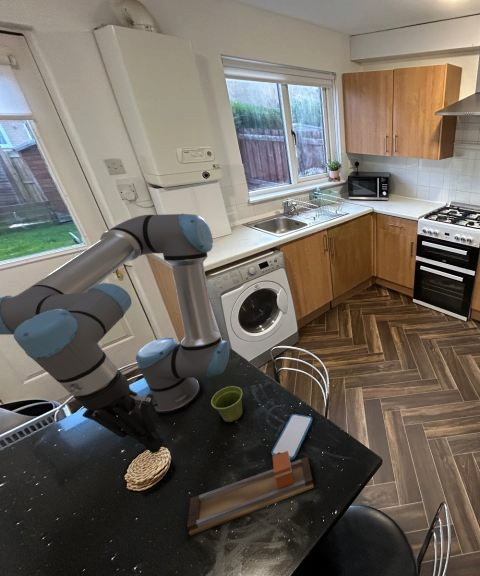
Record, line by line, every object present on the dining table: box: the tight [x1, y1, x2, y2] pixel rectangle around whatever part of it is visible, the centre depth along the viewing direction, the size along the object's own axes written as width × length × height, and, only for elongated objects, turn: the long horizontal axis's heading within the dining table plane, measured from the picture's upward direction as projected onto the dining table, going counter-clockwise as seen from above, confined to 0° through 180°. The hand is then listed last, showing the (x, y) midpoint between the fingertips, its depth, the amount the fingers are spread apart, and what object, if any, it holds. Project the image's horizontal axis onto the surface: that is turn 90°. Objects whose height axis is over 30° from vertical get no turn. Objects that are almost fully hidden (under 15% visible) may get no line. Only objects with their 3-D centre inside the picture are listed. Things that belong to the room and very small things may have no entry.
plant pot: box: [210, 385, 244, 423], centre depth 104 cm, size 9×9×9 cm
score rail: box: [186, 456, 315, 537], centre depth 83 cm, size 8×30×3 cm, turn 112°
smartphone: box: [271, 413, 313, 461], centre depth 99 cm, size 8×1×15 cm
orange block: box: [271, 451, 294, 489], centre depth 83 cm, size 5×4×9 cm
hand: (157, 447), depth 73 cm, fingers closed
